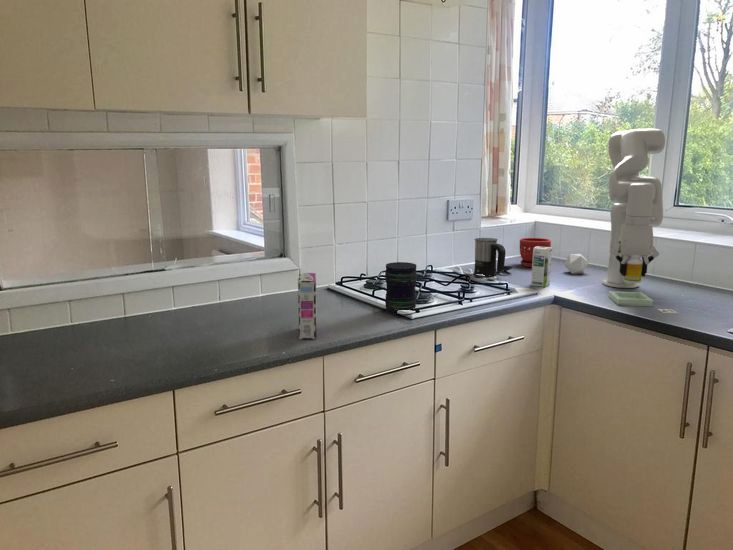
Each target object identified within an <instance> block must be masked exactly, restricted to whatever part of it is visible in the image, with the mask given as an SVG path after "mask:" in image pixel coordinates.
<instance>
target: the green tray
mask: <svg viewBox="0 0 733 550" xmlns="http://www.w3.org/2000/svg"><path fill="white" fill-rule="evenodd" d="M607 296H608V298H609V299H610V300H611V301H612V302H613V303H614V304H615V305H616V306H632V307H653V306H654V299H652V298H650V297H649V296H648V295H646V293H644V292H642V291H608V295H607Z"/></svg>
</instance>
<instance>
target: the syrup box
mask: <svg viewBox="0 0 733 550" xmlns="http://www.w3.org/2000/svg"><path fill="white" fill-rule="evenodd" d="M552 257H553V247H540V246H536V247H534V248H533V262H532V267H531V281H530V286H533V287H534V286H536V287H543V288H546V287H548V286H549V285H550V284H551V273H552Z"/></svg>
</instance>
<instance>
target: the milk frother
mask: <svg viewBox="0 0 733 550" xmlns="http://www.w3.org/2000/svg"><path fill="white" fill-rule="evenodd" d="M474 241H475V243H474V244H475V245H474V272H473V274H474V273H475V274H483V275H485V276H484V277H490V276H489V275H494V276H493V277H495V276H497V273H502V272H503V273H506V272H508V271H509V270H512V269H514V268H515V265H510V266H509V265H505V261H506V248H505V247H504V245H502V244H500V243H497V242H498V238H494V237H476V238H474Z"/></svg>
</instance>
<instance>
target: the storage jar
mask: <svg viewBox="0 0 733 550" xmlns="http://www.w3.org/2000/svg"><path fill="white" fill-rule="evenodd" d="M384 277H385V283H386V284H385V285H386V291H385V299H384V300H385V313H387V314H390V315H392V314H393V316H397V315H396V314H397V311H398V310H409V309H413V308H415V309H416V307H417V300H416V299H417V295H416V283H417V278H418V276H417V264H416V263H413V262H408V261H407V262H404V261H403V262H402V261H399V262H394V261H393V262H389V263H386V264H385V275H384Z"/></svg>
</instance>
